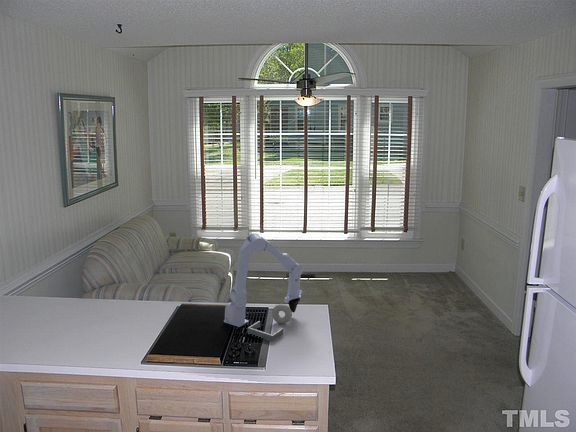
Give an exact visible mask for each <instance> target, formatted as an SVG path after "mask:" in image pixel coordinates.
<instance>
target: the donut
mask: <svg viewBox="0 0 576 432" xmlns="http://www.w3.org/2000/svg"><path fill="white" fill-rule="evenodd" d="M280 312H283V313H284V316H281V315H280ZM271 316H272V319H273V320H274V322H276V323H278V324H280V325H285V324H288V323H289V322H290V321H291V319H292V316H293V312H292V311H291V309H290V307H289V305H287V304H284V303H279V304H276V305H275V306H274V307H272V310H271Z"/></svg>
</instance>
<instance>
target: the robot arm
mask: <svg viewBox="0 0 576 432" xmlns="http://www.w3.org/2000/svg"><path fill="white" fill-rule="evenodd" d="M267 251H268V252H269V253H270V254H272V255H273V256H274V257H276V259H277V263H278V264H280V265H281V266H282V267H283V268H284V269H286V270H287V271H288V286H287V287H288V288H287V294H286V296H285V297H284V301H283V302H284V303H286V304H288V307H289V308H290V309H291V311H292V313H295V312H296V310H297V307H298V304H299V302H300V301H301V298H302V295H303V290H302V289H301V275H302V274H303V272H304V270H303V267H302V266H301V264H299V263H298V262H297V260H296V259H293V258H292V257H291V255H290V254H289V253H286V252H281V251H280V250H279V249H278V248H276V246H274V245H273V244H272V242H270V241H269V240H267V239H265V238H264V237H263V236H260V234H258V233H254V232H253V233H251V234H249V235H248V236H246V238H245V241H244V242H243V244H242V245H241V247H240V248H239V251H238V259H237V265H236V272H235V281H234V285H233V286H232V288H231V290H230V293H229V298H230V300H231V302H228V303H227V304H226V305H225V307H224V320H223V322H224V323H225V324H229V325H232V326H235V327H237V328H240V327H242V326H244V325H246V324H247V323H249V320H248V319H246V308H247V307H246V305H247V303H248V299H247V289H246V287H247V280H248V279H247V278H248V272H249V263H250V257H251V256H252V255H253V254H257V253H260V252H267Z"/></svg>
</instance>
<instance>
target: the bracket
mask: <svg viewBox="0 0 576 432" xmlns="http://www.w3.org/2000/svg"><path fill="white" fill-rule="evenodd" d="M257 328H258V329H257ZM259 328H261V321H260V320H258V321H256V322H254V323H253V324H252V325H249V326H248V327H247V333H248V335H250V334H252V335H251V336H253V335H255V336H254V337H256V336H258V337H257V338H259V337H261V338H260V339H262V338H264V339H263V340H265V339H266V340H265V341H267V342H268V341H269V342H271V343H273V342H275V341H276V340H277V339H279V338H280V337H281V336H284V328H283V327H281V328H280V329H279V330H277V331H276V332H274V333H273V334H271V333H268V332H265V331H263V330H259Z"/></svg>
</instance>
